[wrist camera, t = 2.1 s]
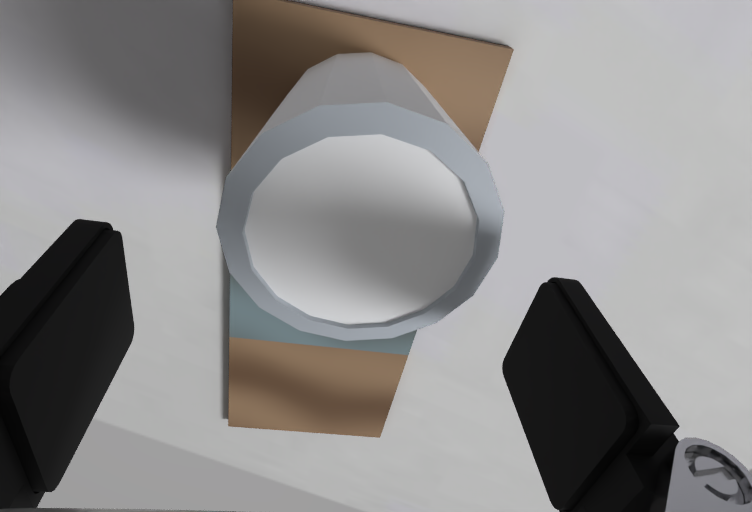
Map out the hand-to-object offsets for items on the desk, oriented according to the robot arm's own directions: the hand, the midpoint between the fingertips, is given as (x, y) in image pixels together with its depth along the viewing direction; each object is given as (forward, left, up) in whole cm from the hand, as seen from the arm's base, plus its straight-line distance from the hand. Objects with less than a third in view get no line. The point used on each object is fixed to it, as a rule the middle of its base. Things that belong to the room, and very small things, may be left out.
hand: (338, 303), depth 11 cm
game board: (+7, 0, -9) cm, 11 cm away
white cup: (-1, 0, -8) cm, 8 cm away
